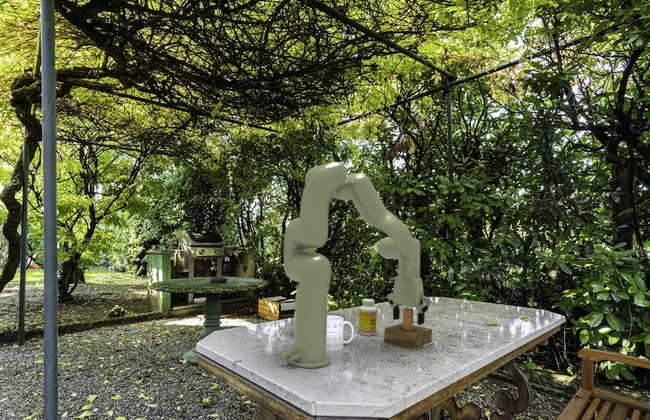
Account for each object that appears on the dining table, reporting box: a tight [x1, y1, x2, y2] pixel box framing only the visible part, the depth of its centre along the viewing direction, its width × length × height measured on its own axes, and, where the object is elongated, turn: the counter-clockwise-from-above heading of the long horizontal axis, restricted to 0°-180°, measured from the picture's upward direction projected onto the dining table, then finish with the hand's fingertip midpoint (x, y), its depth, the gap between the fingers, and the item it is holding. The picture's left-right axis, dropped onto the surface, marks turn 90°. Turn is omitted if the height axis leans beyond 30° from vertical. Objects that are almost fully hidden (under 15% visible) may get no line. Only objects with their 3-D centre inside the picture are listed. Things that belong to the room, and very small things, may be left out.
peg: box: [402, 307, 415, 331], centre depth 129 cm, size 4×4×12 cm
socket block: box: [383, 322, 433, 350], centre depth 129 cm, size 12×12×5 cm
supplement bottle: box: [358, 298, 378, 337], centre depth 140 cm, size 7×7×13 cm
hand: (408, 321), depth 129 cm, fingers open, 9 cm apart
